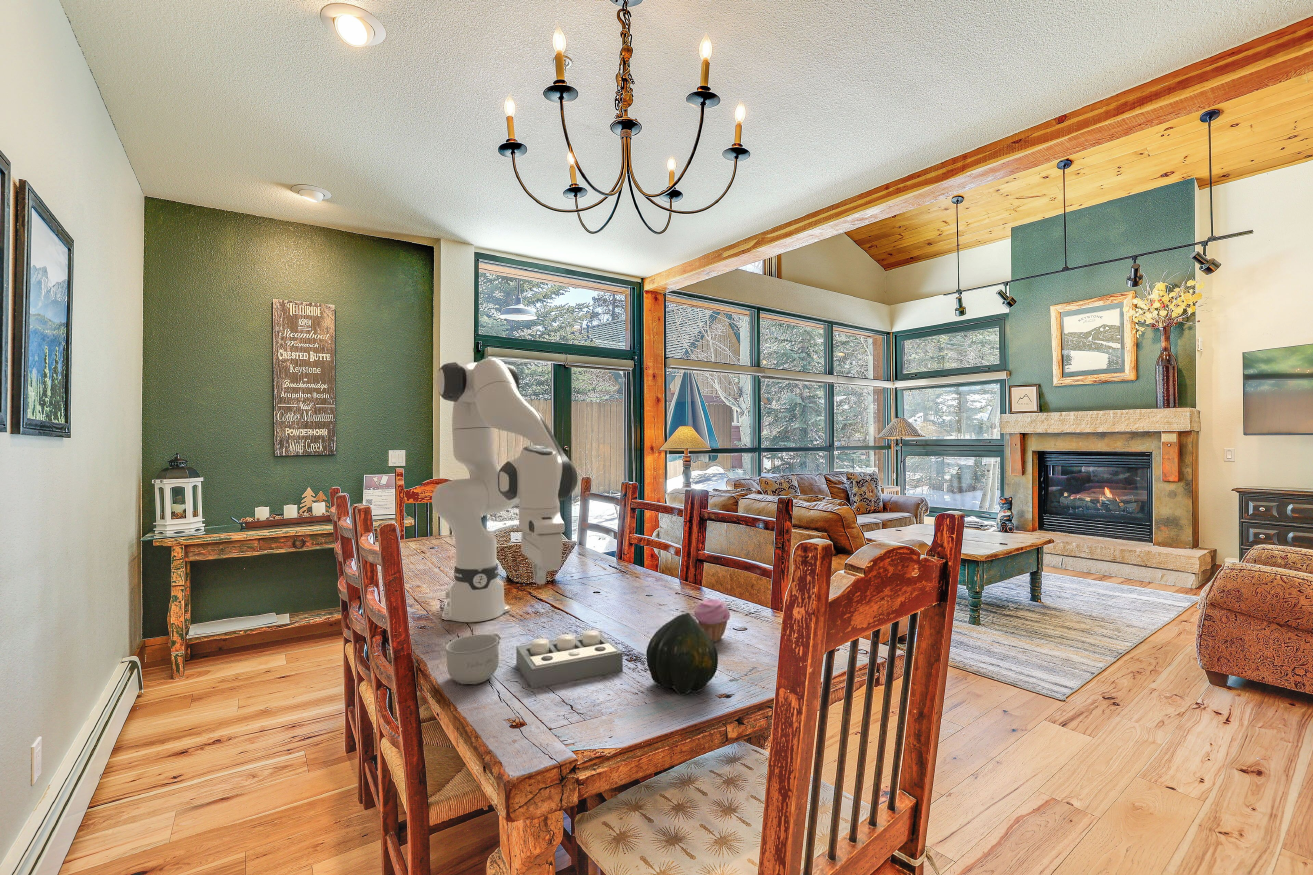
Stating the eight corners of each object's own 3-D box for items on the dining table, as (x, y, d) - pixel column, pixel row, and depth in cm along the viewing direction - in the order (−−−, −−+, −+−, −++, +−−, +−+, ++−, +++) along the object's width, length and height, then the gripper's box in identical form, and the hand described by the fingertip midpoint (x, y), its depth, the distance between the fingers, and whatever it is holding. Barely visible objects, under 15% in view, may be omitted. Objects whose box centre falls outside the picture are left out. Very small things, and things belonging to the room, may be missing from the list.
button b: (554, 649, 133) (554, 635, 133) (571, 646, 135) (571, 633, 135) (560, 655, 129) (560, 641, 129) (577, 652, 131) (577, 638, 131)
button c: (579, 644, 136) (579, 631, 136) (596, 642, 137) (596, 629, 137) (585, 650, 132) (585, 637, 132) (602, 647, 134) (602, 634, 134)
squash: (651, 681, 110) (697, 614, 115) (623, 656, 124) (665, 597, 128) (702, 720, 114) (744, 655, 119) (669, 692, 128) (709, 634, 132)
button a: (528, 653, 130) (528, 640, 130) (546, 650, 132) (546, 637, 132) (533, 659, 127) (533, 646, 127) (551, 656, 129) (551, 643, 128)
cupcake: (687, 638, 148) (687, 599, 148) (708, 630, 154) (708, 592, 154) (716, 647, 142) (716, 606, 142) (736, 638, 148) (736, 599, 148)
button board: (516, 663, 132) (516, 644, 132) (599, 649, 141) (599, 630, 141) (532, 688, 120) (532, 666, 120) (622, 670, 129) (622, 650, 128)
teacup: (469, 694, 117) (469, 654, 117) (434, 682, 123) (434, 644, 123) (520, 670, 129) (520, 634, 129) (486, 660, 134) (485, 625, 134)
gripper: (514, 514, 137) (514, 573, 137) (537, 527, 119) (537, 595, 119) (540, 512, 140) (541, 570, 140) (567, 525, 121) (567, 592, 122)
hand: (539, 582), depth 129 cm, fingers closed
